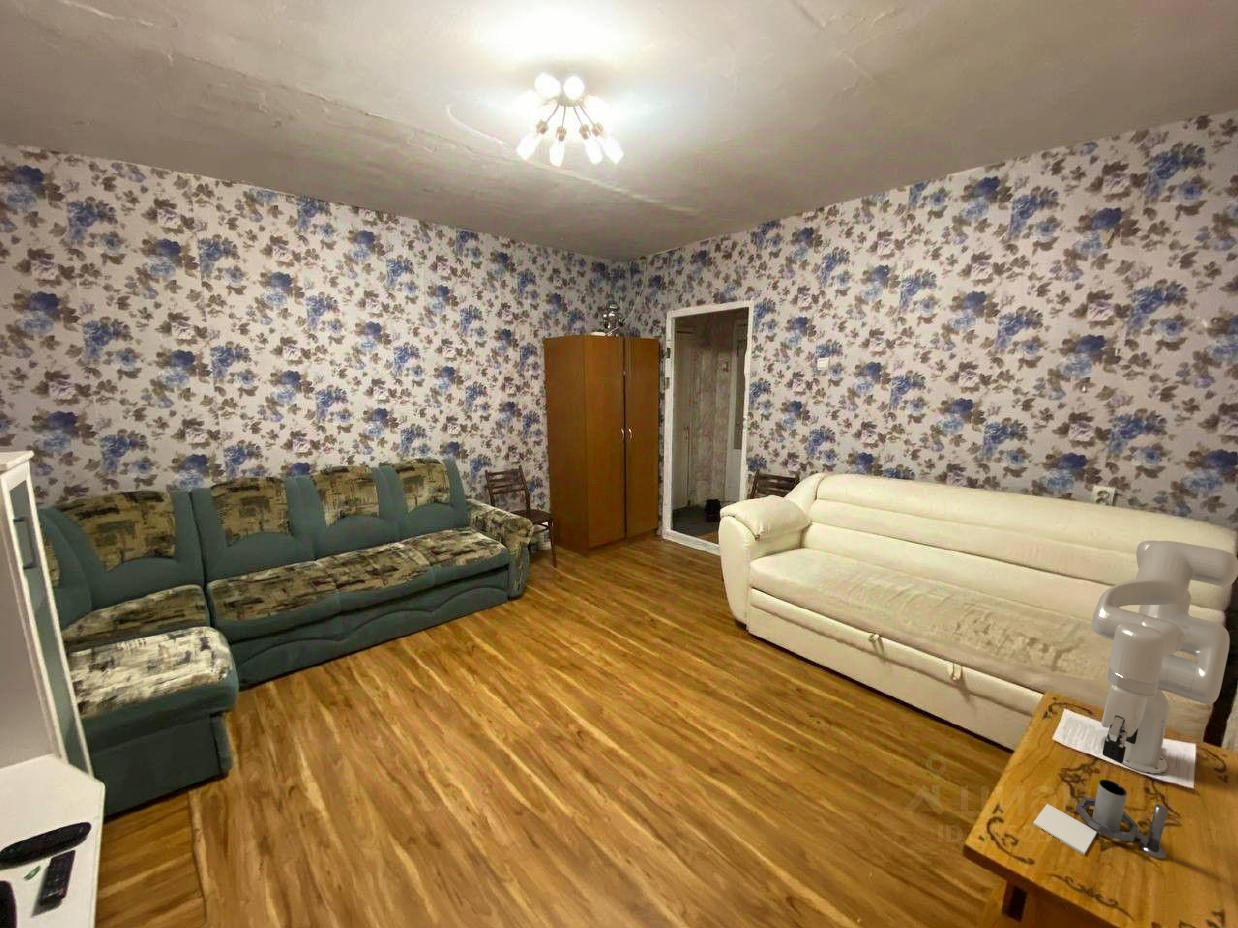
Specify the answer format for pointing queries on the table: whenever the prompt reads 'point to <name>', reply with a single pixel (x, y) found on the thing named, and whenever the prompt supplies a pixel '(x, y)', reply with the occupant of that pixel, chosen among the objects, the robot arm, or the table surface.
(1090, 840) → the coaster
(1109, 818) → the gray hollow cylinder
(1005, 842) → the table surface
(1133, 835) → the ring stand
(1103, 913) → the table surface
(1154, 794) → the table surface
